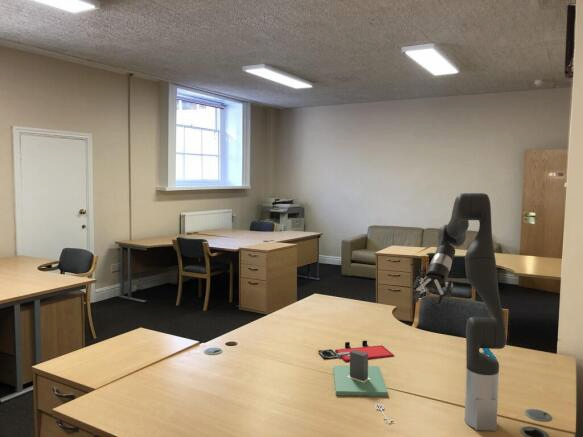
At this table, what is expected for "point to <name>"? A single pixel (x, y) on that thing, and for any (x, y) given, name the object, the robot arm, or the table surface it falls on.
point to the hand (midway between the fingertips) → (426, 303)
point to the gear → (488, 353)
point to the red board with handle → (345, 353)
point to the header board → (359, 382)
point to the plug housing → (359, 365)
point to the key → (381, 410)
